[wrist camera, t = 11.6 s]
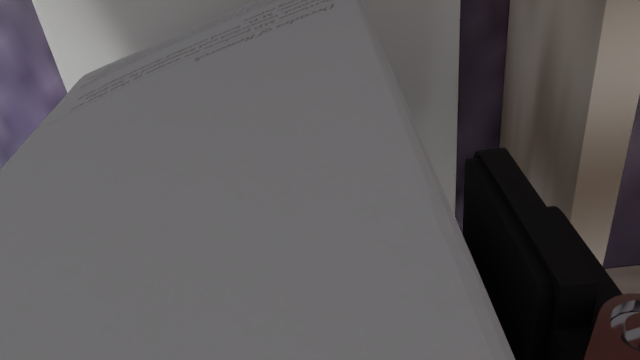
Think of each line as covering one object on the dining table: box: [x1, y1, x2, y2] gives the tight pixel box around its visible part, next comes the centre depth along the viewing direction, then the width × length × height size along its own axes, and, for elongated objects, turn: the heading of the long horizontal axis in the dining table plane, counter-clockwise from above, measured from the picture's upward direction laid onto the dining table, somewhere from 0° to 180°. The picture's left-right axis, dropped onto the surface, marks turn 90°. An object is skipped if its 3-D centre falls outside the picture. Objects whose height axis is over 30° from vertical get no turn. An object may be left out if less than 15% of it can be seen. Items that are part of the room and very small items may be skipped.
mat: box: [32, 0, 460, 216], centre depth 16 cm, size 11×11×1 cm
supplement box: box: [0, 0, 515, 360], centre depth 9 cm, size 7×7×13 cm
